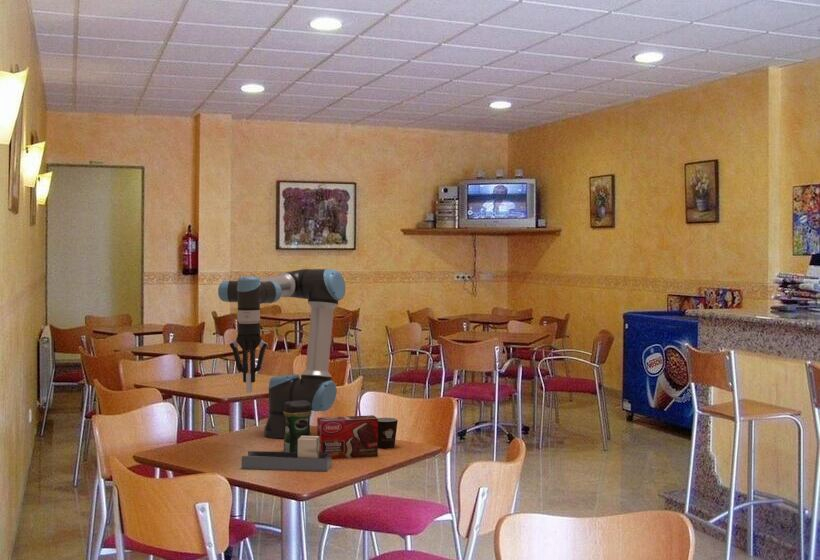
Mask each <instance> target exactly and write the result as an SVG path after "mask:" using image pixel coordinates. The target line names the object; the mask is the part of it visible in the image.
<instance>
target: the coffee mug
mask: <svg viewBox="0 0 820 560" xmlns="http://www.w3.org/2000/svg"><path fill="white" fill-rule="evenodd" d="M377 418H378V449H382V448H383V449H382V450H384V449H385V450H389V449H388V448H390V449H393V448H395V445H396V438H397V428H398V420H399V419H398V418H395V417H377Z"/></svg>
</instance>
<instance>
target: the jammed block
mask: <svg viewBox="0 0 820 560" xmlns="http://www.w3.org/2000/svg"><path fill="white" fill-rule="evenodd" d="M298 457H302V458H319V436H317V435H311V436H301V437H300V438H299V439H298Z"/></svg>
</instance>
